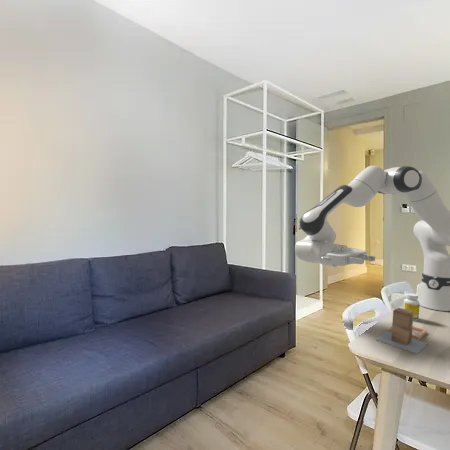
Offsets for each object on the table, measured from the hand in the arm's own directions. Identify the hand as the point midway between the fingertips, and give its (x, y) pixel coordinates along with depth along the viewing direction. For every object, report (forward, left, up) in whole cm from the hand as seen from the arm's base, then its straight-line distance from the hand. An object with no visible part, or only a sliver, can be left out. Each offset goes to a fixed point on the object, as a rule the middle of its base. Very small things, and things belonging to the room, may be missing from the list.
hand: (369, 260), depth 109 cm
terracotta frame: (-9, +11, -25) cm, 29 cm away
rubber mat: (+2, +13, -25) cm, 28 cm away
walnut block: (+2, +13, -24) cm, 28 cm away
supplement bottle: (-25, +7, -25) cm, 36 cm away
